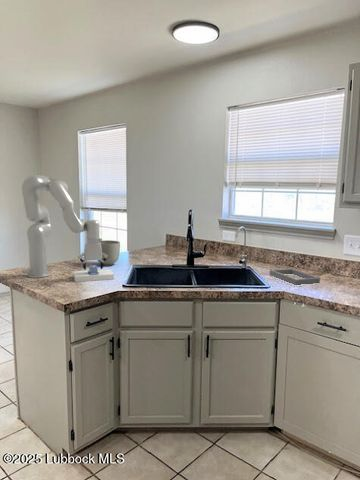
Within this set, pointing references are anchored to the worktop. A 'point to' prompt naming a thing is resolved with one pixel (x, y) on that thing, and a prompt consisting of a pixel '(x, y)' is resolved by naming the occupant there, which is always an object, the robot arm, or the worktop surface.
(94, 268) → the servo block
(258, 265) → the worktop surface
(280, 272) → the frame
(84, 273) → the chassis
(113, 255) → the planter
